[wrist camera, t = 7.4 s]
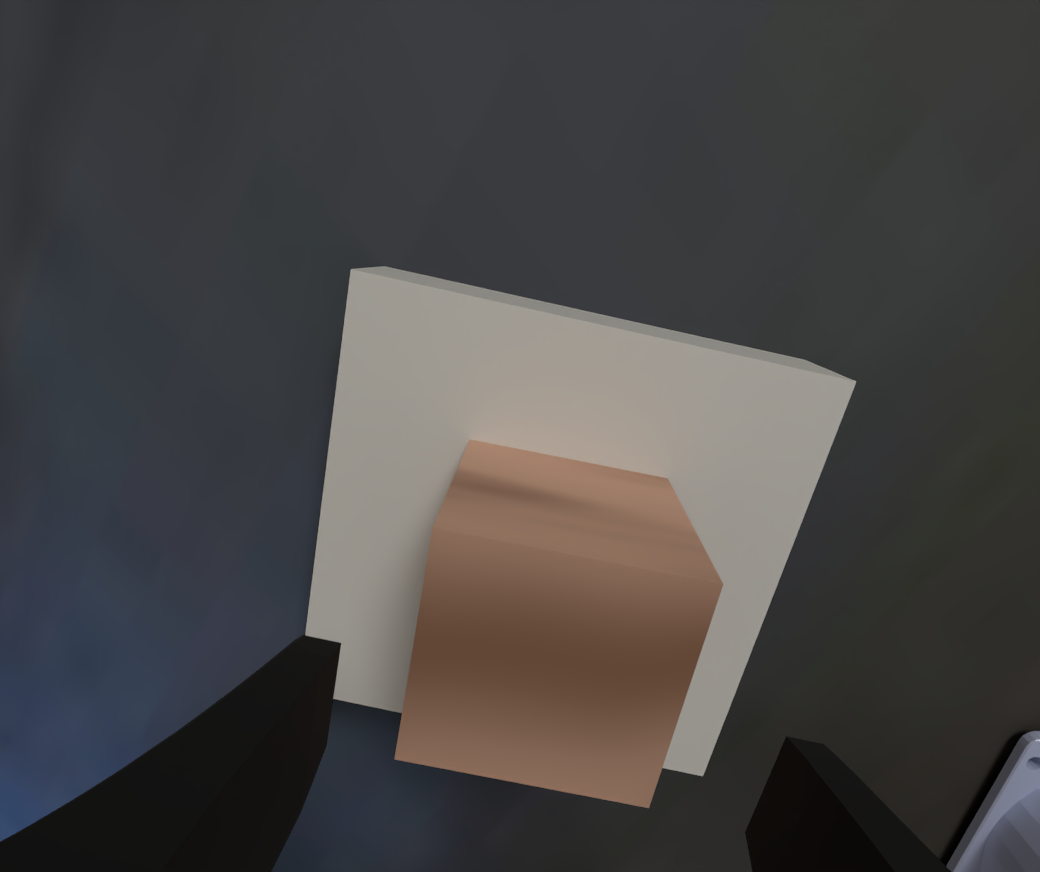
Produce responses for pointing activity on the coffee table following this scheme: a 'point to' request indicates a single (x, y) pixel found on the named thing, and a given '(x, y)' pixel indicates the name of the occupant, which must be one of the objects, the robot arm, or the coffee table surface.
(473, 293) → the plinth
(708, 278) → the coffee table surface
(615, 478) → the terracotta cube
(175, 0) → the coffee table surface
